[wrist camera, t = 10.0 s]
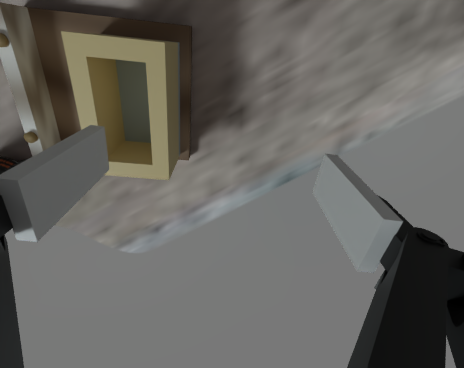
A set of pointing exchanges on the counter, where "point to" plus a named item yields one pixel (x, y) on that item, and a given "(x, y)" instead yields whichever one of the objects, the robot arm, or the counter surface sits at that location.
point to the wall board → (57, 72)
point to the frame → (129, 99)
